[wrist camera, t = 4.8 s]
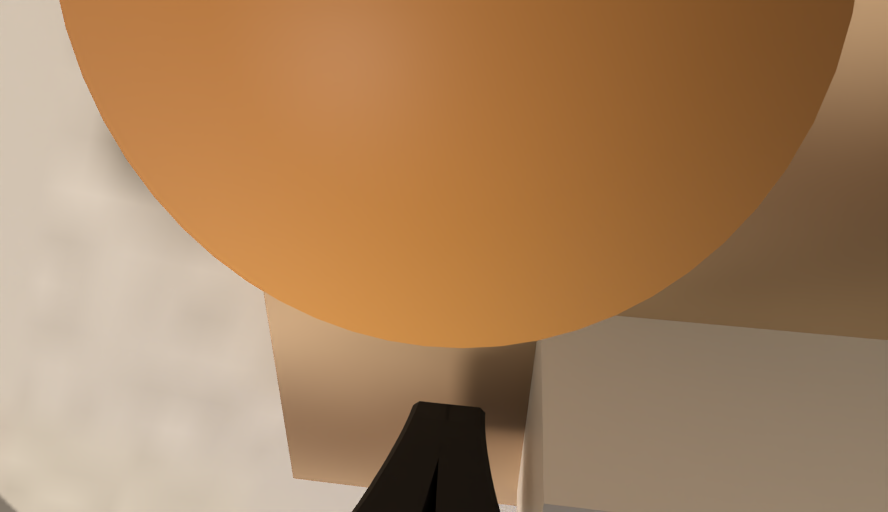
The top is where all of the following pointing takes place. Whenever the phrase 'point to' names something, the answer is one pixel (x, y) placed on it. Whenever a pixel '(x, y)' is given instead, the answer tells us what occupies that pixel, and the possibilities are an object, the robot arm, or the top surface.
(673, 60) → the orange tube
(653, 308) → the subfloor panel
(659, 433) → the block
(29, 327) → the top surface
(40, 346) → the top surface
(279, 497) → the top surface
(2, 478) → the top surface
